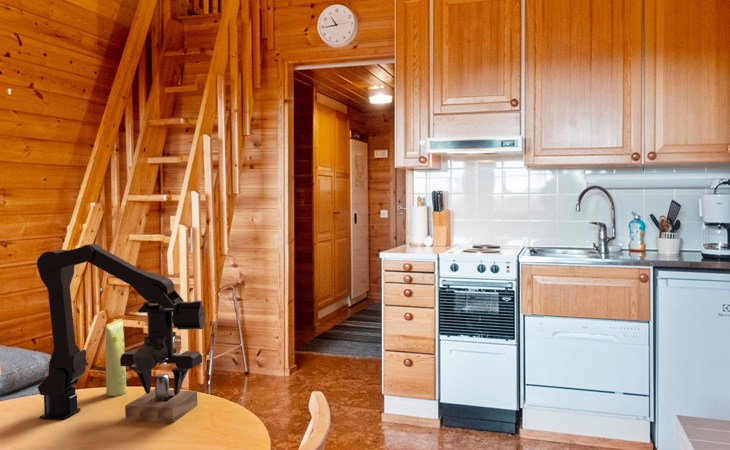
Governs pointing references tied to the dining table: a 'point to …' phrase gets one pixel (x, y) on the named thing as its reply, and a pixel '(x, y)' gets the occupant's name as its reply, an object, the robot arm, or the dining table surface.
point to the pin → (162, 388)
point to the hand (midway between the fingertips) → (162, 394)
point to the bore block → (161, 407)
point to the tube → (115, 359)
